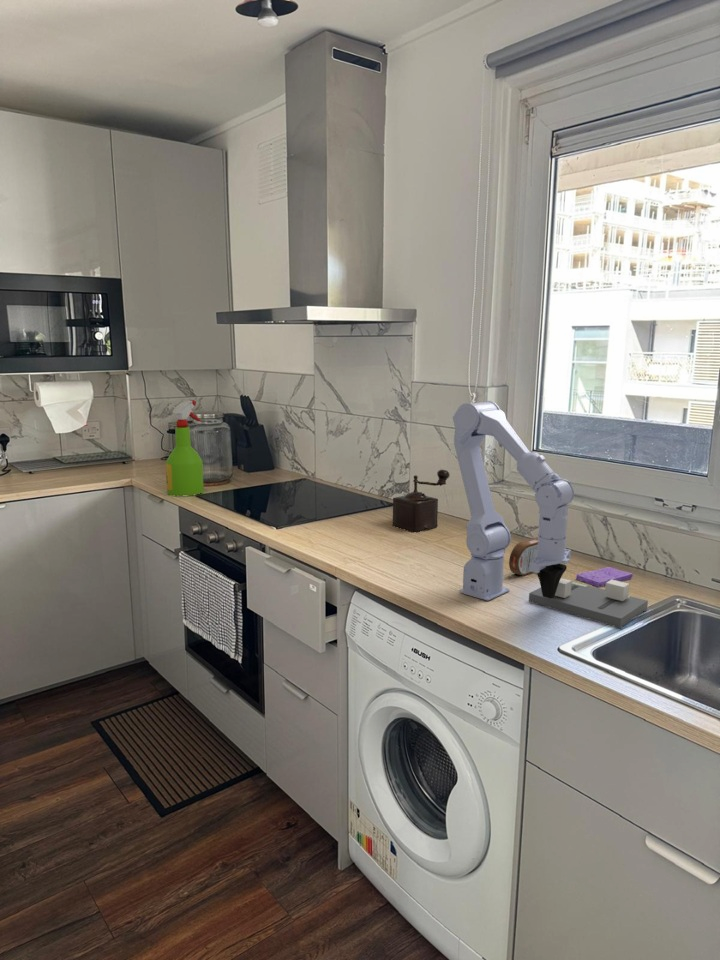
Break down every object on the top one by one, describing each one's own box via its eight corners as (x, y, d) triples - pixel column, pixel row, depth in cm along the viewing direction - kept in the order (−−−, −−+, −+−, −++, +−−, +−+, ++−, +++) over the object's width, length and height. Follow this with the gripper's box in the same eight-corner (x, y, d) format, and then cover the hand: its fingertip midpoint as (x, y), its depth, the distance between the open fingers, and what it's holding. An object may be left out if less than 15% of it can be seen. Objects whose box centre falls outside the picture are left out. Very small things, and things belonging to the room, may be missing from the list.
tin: (542, 564, 182) (544, 533, 181) (552, 567, 180) (554, 536, 178) (507, 576, 173) (508, 544, 171) (517, 579, 170) (519, 546, 169)
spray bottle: (217, 488, 274) (214, 400, 267) (189, 498, 258) (185, 403, 251) (189, 485, 279) (185, 398, 272) (159, 494, 263) (155, 402, 256)
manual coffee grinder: (416, 533, 211) (417, 475, 208) (391, 526, 219) (392, 470, 216) (450, 525, 221) (452, 469, 217) (425, 518, 229) (427, 465, 226)
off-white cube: (564, 598, 152) (565, 584, 151) (547, 593, 154) (548, 579, 154) (570, 594, 154) (571, 580, 153) (554, 590, 156) (555, 576, 156)
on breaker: (622, 601, 150) (623, 587, 149) (604, 596, 153) (605, 582, 152) (628, 597, 152) (629, 583, 151) (610, 593, 155) (611, 579, 154)
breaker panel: (620, 627, 142) (621, 618, 141) (528, 601, 156) (529, 592, 155) (647, 609, 152) (647, 600, 151) (558, 586, 166) (559, 577, 165)
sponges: (575, 581, 171) (576, 573, 171) (609, 572, 178) (609, 565, 177) (598, 589, 165) (599, 582, 165) (632, 580, 172) (633, 573, 171)
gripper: (552, 547, 140) (548, 610, 143) (585, 533, 150) (581, 592, 153) (521, 540, 145) (518, 601, 147) (555, 527, 155) (552, 585, 158)
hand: (548, 596), depth 150 cm, fingers closed
